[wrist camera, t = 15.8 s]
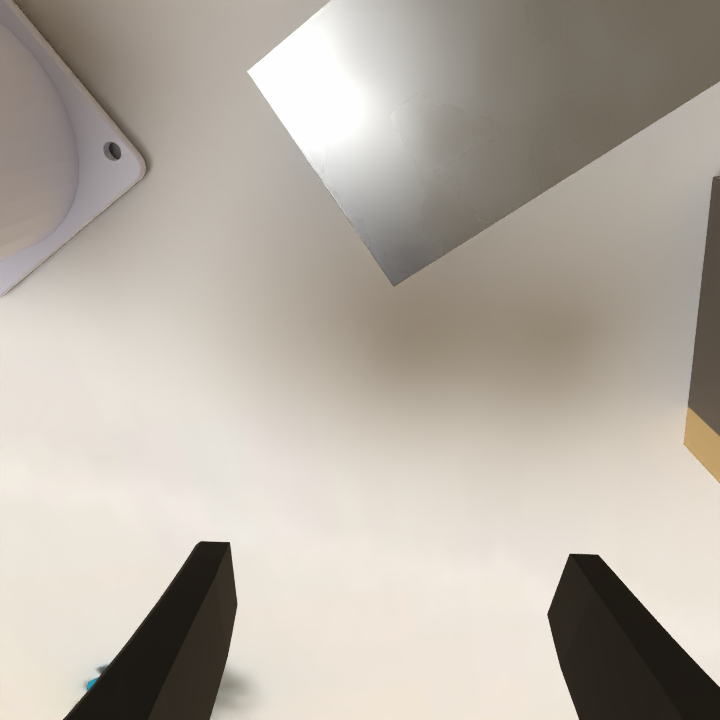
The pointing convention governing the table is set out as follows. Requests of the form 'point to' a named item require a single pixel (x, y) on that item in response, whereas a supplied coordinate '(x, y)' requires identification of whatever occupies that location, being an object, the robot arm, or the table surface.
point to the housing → (475, 103)
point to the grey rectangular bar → (707, 353)
